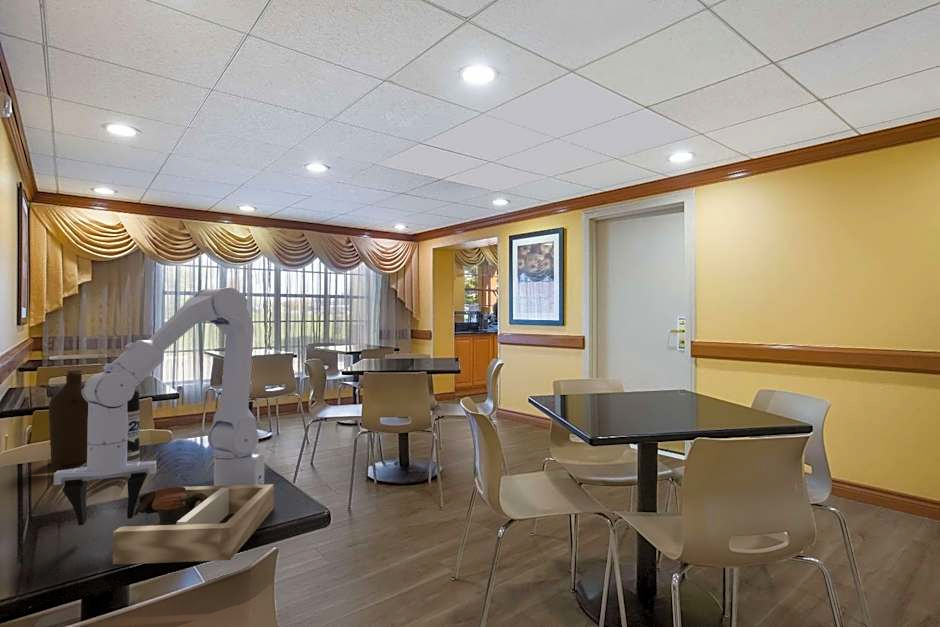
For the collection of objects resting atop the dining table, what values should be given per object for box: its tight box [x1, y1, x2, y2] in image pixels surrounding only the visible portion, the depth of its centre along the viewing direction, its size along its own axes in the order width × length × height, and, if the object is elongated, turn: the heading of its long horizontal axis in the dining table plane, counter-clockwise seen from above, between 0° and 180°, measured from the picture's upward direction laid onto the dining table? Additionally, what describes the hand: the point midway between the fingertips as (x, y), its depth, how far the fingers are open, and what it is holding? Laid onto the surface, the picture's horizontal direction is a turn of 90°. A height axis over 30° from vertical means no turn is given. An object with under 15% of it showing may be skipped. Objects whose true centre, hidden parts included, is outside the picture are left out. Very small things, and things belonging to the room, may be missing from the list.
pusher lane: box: [112, 483, 275, 566], centre depth 90 cm, size 18×22×5 cm
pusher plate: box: [177, 488, 230, 525], centre depth 90 cm, size 2×17×5 cm, turn 4°
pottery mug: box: [134, 486, 208, 526], centre depth 93 cm, size 12×9×8 cm
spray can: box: [127, 389, 141, 462], centre depth 132 cm, size 7×7×20 cm
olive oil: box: [48, 368, 88, 466], centre depth 140 cm, size 11×11×25 cm
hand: (106, 520), depth 89 cm, fingers open, 6 cm apart
